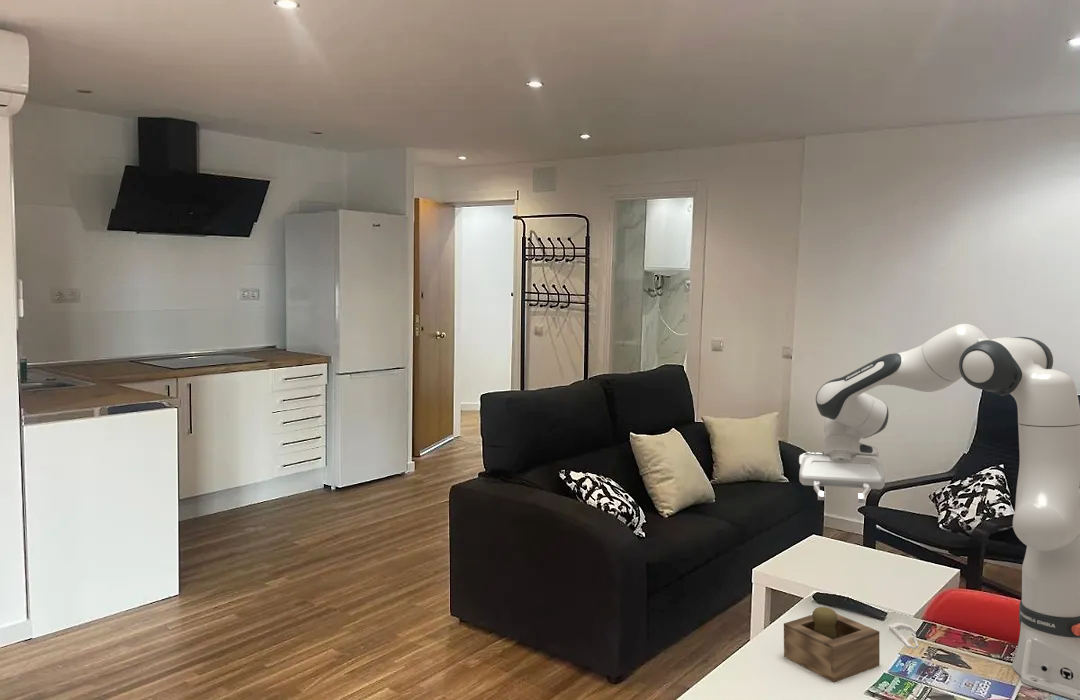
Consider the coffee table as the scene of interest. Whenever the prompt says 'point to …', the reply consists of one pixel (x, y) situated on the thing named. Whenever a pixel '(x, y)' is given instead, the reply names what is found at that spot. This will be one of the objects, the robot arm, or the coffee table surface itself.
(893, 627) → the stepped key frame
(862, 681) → the coffee table surface
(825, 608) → the cork
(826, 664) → the walnut box
